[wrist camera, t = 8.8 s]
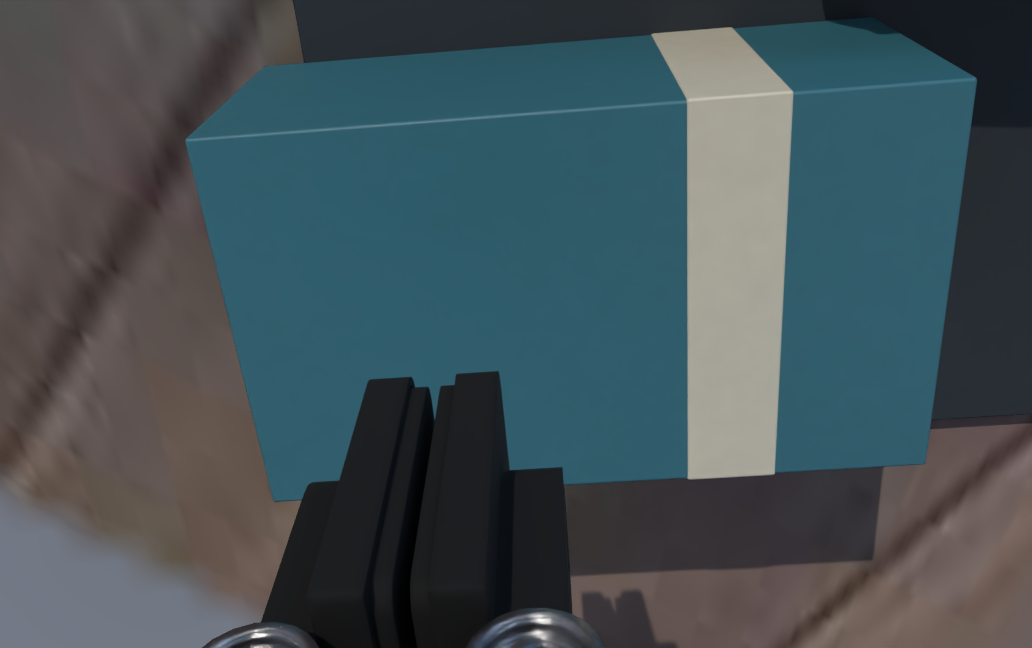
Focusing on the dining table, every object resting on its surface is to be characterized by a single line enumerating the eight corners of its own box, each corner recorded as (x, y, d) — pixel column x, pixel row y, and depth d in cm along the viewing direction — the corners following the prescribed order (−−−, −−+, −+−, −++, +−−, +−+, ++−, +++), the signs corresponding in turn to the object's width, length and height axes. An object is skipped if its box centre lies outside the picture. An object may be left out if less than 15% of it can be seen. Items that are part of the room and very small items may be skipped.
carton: (272, 505, 18) (926, 467, 18) (181, 137, 15) (979, 76, 14) (323, 369, 23) (846, 335, 22) (262, 64, 19) (873, 15, 19)
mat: (376, 445, 24) (374, 455, 24) (284, -75, 19) (278, -73, 18) (1210, 394, 23) (1221, 403, 23) (1373, -172, 18) (1390, -171, 17)
